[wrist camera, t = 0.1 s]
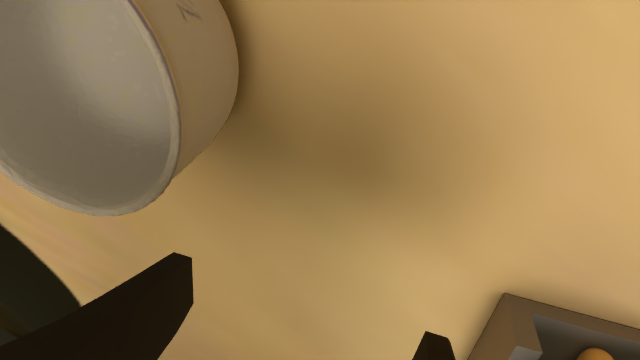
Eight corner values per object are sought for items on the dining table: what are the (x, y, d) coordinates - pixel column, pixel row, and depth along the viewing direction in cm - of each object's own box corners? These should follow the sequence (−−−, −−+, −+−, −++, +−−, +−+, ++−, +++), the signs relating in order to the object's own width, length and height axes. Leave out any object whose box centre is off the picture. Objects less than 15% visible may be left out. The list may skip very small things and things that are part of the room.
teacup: (285, -37, 16) (178, -46, 9) (248, 172, 21) (165, 262, 15) (6, -124, 17) (-275, -191, 10) (40, 95, 23) (-125, 146, 16)
